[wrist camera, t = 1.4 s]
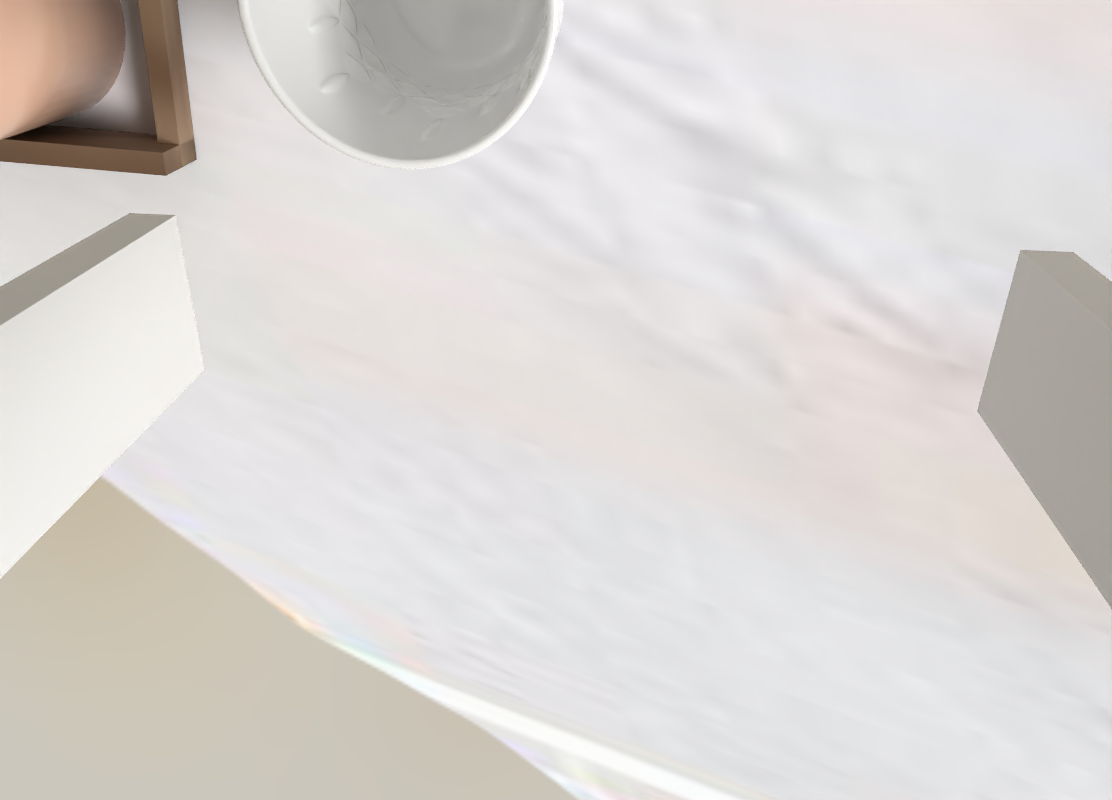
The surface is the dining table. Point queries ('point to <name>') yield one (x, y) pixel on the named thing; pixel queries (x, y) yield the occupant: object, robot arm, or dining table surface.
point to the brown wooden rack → (126, 148)
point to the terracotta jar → (56, 59)
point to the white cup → (404, 71)
